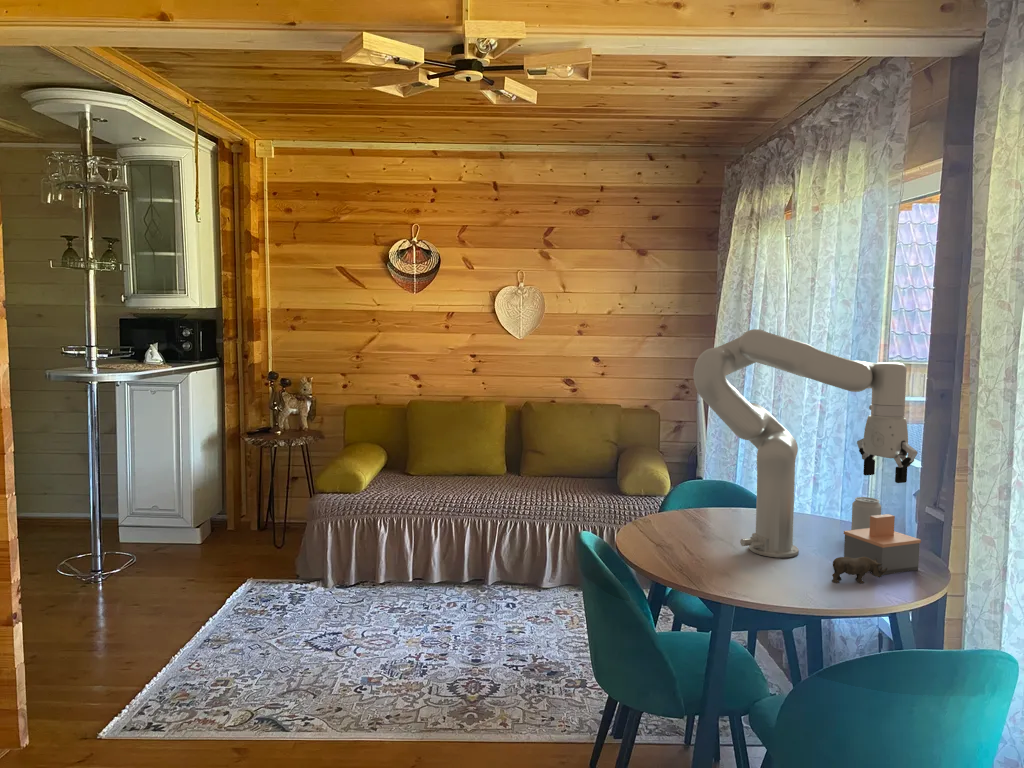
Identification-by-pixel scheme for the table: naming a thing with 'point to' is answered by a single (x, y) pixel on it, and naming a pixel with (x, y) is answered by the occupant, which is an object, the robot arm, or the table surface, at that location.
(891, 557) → the tub
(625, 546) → the table surface
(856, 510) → the can
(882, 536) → the lid
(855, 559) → the rhino figurine
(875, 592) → the table surface
